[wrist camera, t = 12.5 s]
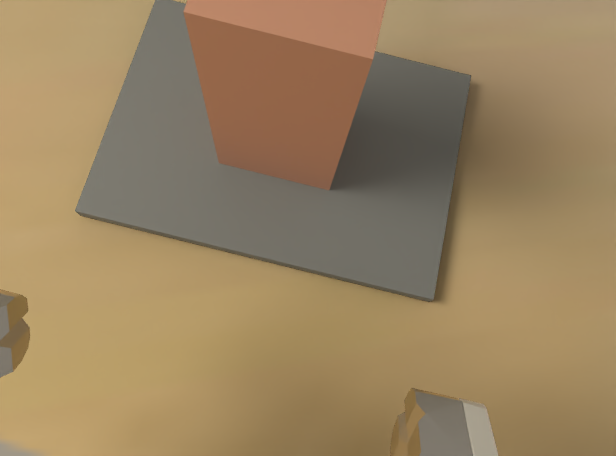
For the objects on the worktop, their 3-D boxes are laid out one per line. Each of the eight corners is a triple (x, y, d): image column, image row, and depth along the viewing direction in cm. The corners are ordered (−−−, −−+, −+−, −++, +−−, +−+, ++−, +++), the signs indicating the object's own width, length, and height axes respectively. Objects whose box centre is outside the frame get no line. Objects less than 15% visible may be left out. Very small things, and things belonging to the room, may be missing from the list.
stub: (218, 163, 21) (182, 5, 12) (242, 87, 22) (223, -111, 13) (329, 190, 21) (374, 54, 12) (347, 113, 22) (402, -66, 13)
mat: (80, 215, 20) (74, 211, 20) (159, 6, 23) (156, -4, 22) (428, 301, 20) (433, 299, 20) (466, 82, 23) (470, 75, 23)
